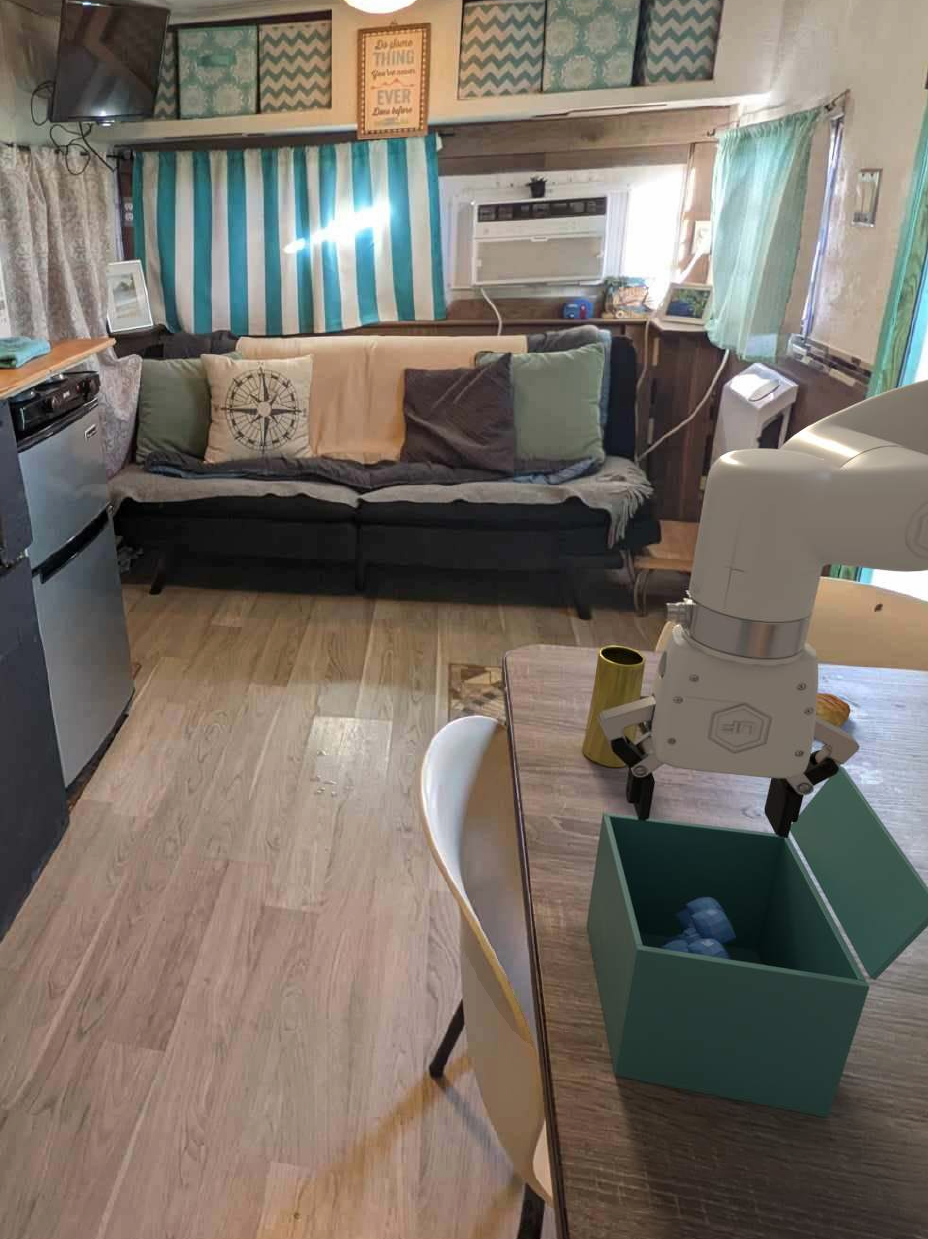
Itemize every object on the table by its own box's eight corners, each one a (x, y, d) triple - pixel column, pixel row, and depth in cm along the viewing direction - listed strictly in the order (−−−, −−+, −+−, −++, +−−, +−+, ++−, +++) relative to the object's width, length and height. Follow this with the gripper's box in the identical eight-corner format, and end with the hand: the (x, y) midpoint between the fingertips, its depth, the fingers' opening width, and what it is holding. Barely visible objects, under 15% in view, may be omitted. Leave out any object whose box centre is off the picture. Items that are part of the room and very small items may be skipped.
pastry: (812, 699, 117) (818, 675, 115) (864, 723, 111) (871, 698, 109) (767, 716, 113) (773, 692, 112) (818, 742, 107) (825, 717, 106)
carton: (759, 951, 78) (788, 834, 73) (828, 1118, 64) (870, 986, 59) (586, 924, 82) (602, 812, 77) (614, 1076, 67) (637, 949, 63)
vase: (585, 735, 111) (598, 639, 106) (636, 747, 108) (652, 649, 103) (578, 760, 106) (591, 661, 101) (631, 773, 103) (647, 672, 98)
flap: (788, 827, 73) (792, 829, 73) (869, 978, 59) (875, 980, 59) (838, 765, 70) (843, 767, 70) (937, 907, 56) (944, 910, 55)
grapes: (711, 1079, 69) (770, 1043, 60) (625, 1032, 72) (669, 991, 63) (735, 949, 75) (792, 900, 67) (656, 910, 78) (700, 858, 69)
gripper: (622, 638, 59) (595, 834, 65) (912, 658, 54) (853, 866, 60) (604, 594, 66) (581, 775, 72) (861, 608, 61) (813, 801, 67)
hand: (706, 817), depth 66 cm, fingers open, 9 cm apart
